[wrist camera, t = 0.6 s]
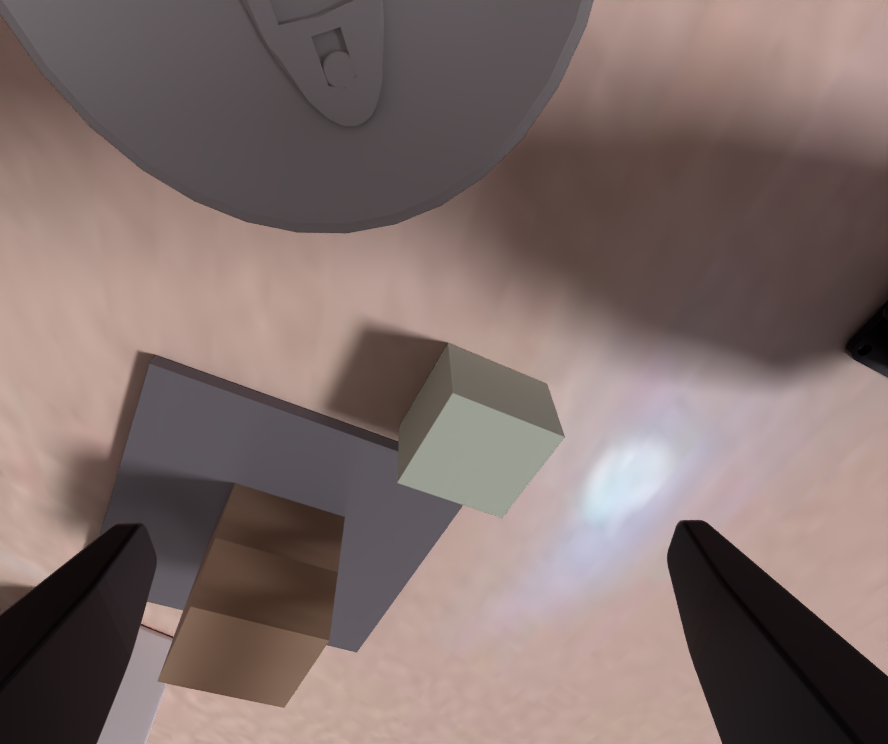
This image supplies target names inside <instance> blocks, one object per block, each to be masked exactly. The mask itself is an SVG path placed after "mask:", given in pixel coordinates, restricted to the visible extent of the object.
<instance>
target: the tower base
mask: <svg viewBox="0 0 888 744" xmlns="http://www.w3.org/2000/svg"><path fill="white" fill-rule="evenodd" d="M344 521H345V517H344V516H340V515H337V514H334V513H331V512H327V511H324V510H321V509H318V508H315V507H311V506H308V505H305V504H302V503H298V502H295V501H292V500H289V499H285V498H282V497H279V496H276V495H273V494H269V493H266V492H263V491H260V490H256V489H253V488H250V487H247V486H244V485H240V484H237V483H235V484H234V486H233V489H232V491H231V493H230V496H229V498H228V500H227V503H226V505H225V507H224V510H223V512H222V514H221V517H220V519H219V521H218V523H217V526H216V528H215V530H214V533H213V535H212V537H211V540H210V542H209V544H208V547H207V549H206V551H205V554H204V556H203V559H202V562H201V564H200V567H199V570H198V572H197V575H196V578H195V581H194V583H193V586H192V589H191V591H190V594H189V597H190V595H191V592H192V590H193V588H194V585H195V583H196V581H197V579H198V576H199V574H200V572H201V569H202V567H203V565H204V563H205V560H206V558H207V556H208V553H209V551H210V549H211V547H212V544H213V542H214V540H215V538H218V539H221V540H225V541H228V542H232V543H235V544H239V545H243V546H246V547H250V548H253V549H257V550H260V551H264V552H267V553H271V554H275V555H278V556H282V557H285V558H289V559H292V560H296V561H299V562H303V563H307V564H310V565H314V566H317V567H321V568H324V569H328V570H332V571H335V572H338V568H339V560H340V552H341V545H342V537H343V529H344ZM189 597H188V599H189ZM187 602H188V600H187ZM187 602H186V604H187ZM185 606H186V605H185ZM183 611H184V610H183Z"/></svg>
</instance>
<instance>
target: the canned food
mask: <svg viewBox="0 0 888 744" xmlns="http://www.w3.org/2000/svg"><path fill="white" fill-rule="evenodd" d="M593 1H594V0H0V14H1V16H2V17H3V19H4V20H5V21H6V23H7V24H8V26H9V27H10V29H11V30H12V32H13V33H14V34H15V36H16V37H17V39H18V40H19V42H20V43H21V45H22V46H23V47H24V49H25V50H26V52H27V53H28V55H29V56H30V58H31V59H32V60H33V62H34V63H35V65H36V66H37V68H38V69H39V70H40V72H41V73H42V74H43V75H44V77H45V78H46V79H47V80H48V81H49V82H50V83H51V84H52V85H53V86H54V87H55V89H56V90H57V91H58V92H59V93H60V94H61V95H62V96H63V97H64V98H65V100H66V101H67V102H68V103H69V104H70V105H71V106H72V107H73V108H74V109H75V111H76V112H77V113H78V114H79V115H80V116H81V117H82V118H83V119H84V120H85V121H86V123H87V124H88V125H89V126H90V127H91V128H92V129H94V130H95V131H96V132H97V133H98V134H100V135H101V136H102V137H103V138H104V139H106V140H107V141H108V142H109V143H110V144H112V145H113V146H114V147H115V148H116V149H118V150H119V151H120V152H121V153H122V154H124V155H125V156H126V157H127V158H129V159H130V160H131V161H132V162H133V163H135V164H136V165H137V166H138V167H139V168H141V169H142V170H143V171H145V172H147V173H148V174H150V175H152V176H153V177H155V178H157V179H158V180H160V181H162V182H163V183H165V184H167V185H168V186H170V187H172V188H173V189H175V190H177V191H178V192H180V193H182V194H183V195H185V196H187V197H188V198H190V199H192V200H193V201H195V202H198V203H200V204H203V205H205V206H208V207H210V208H213V209H215V210H218V211H220V212H223V213H225V214H228V215H230V216H233V217H235V218H238V219H240V220H243V221H245V222H250V223H254V224H259V225H264V226H269V227H274V228H279V229H283V230H288V231H293V232H305V233H351V232H356V231H361V230H367V229H372V228H377V227H383V226H388V225H394V224H397V223H400V222H402V221H404V220H407V219H409V218H412V217H414V216H417V215H419V214H422V213H424V212H426V211H429V210H431V209H434V208H436V207H439V206H441V205H443V204H444V203H446V202H447V201H449V200H450V199H452V198H453V197H455V196H456V195H458V194H459V193H461V192H462V191H464V190H465V189H467V188H468V187H470V186H471V185H473V184H474V183H476V182H477V181H478V180H480V179H481V178H483V177H484V176H485V175H486V174H487V173H488V172H489V171H490V170H491V169H492V168H493V167H494V166H495V165H496V164H497V163H498V162H499V161H500V160H501V159H502V158H503V157H504V156H505V155H506V154H507V153H508V152H509V151H510V150H511V149H512V148H513V147H514V146H515V145H516V144H517V143H518V142H519V141H520V140H521V139H522V138H523V137H524V136H525V135H526V133H527V132H528V130H529V129H530V127H531V126H532V124H533V123H534V122H535V120H536V119H537V117H538V116H539V114H540V113H541V111H542V110H543V108H544V107H545V106H546V104H547V103H548V101H549V100H550V98H551V97H552V95H553V94H554V92H555V91H556V90H557V88H558V86H559V84H560V82H561V80H562V78H563V75H564V73H565V71H566V69H567V67H568V65H569V63H570V60H571V58H572V56H573V54H574V52H575V50H576V47H577V45H578V43H579V41H580V39H581V37H582V34H583V32H584V30H585V28H586V25H587V22H588V18H589V15H590V11H591V8H592V4H593Z"/></svg>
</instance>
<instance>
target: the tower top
mask: <svg viewBox="0 0 888 744" xmlns="http://www.w3.org/2000/svg"><path fill="white" fill-rule="evenodd" d="M337 576H338V572H335V571H332V570H328V569H324V568H321V567H317V566H314V565H310V564H307V563H303V562H299V561H296V560H292V559H289V558H285V557H282V556H278V555H275V554H271V553H267V552H264V551H260V550H257V549H253V548H250V547H246V546H243V545H239V544H235V543H232V542H228V541H225V540H221V539H218V538H215V540H214V542H213V544H212V547H211V549H210V551H209V553H208V556H207V558H206V560H205V563H204V565H203V567H202V569H201V572H200V574H199V576H198V579H197V581H196V583H195V585H194V588H193V590H192V592H191V595H190V597H189V599H188V602H187V604H186V606H185V608H184V611H183V613H182V616H181V619H180V621H179V624H178V627H177V629H176V632H175V635H174V638H173V640H172V643H171V646H170V649H169V651H168V654H167V657H166V659H165V662H164V665H163V668H162V670H161V673H160V676H159V678H158V681H157V682H162V683H167V684H171V685H176V686H181V687H186V688H191V689H196V690H201V691H205V692H210V693H215V694H220V695H225V696H230V697H234V698H239V699H244V700H249V701H254V702H259V703H264V704H268V705H273V706H278V707H283V708H284V707H285V706H286V704H287V703H288V701H289V700H290V698H291V697H292V695H293V694H294V693H295V691H296V690H297V688H298V687H299V685H300V684H301V682H302V681H303V679H304V678H305V676H306V675H307V673H308V672H309V670H310V669H311V667H312V666H313V664H314V663H315V661H316V660H317V658H318V657H319V655H320V654H321V652H322V651H323V649H324V648H325V646H326V645H327V643H328V642H329V639H330V631H331V623H332V615H333V607H334V599H335V592H336V584H337Z"/></svg>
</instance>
